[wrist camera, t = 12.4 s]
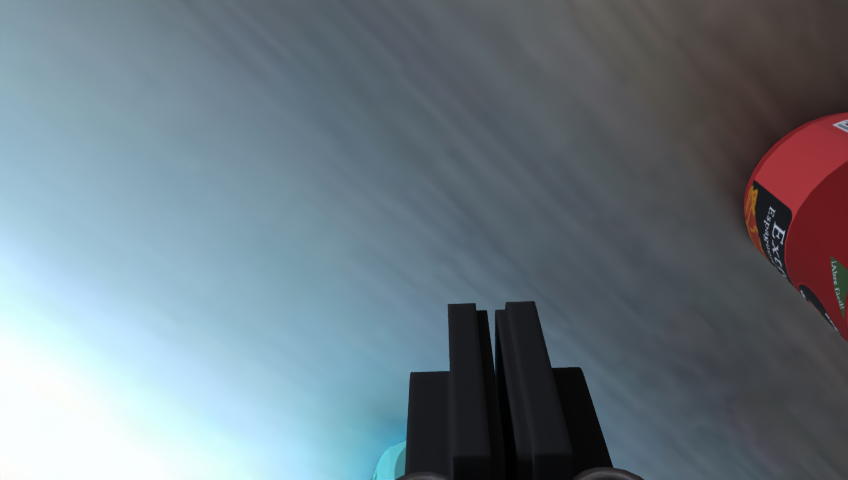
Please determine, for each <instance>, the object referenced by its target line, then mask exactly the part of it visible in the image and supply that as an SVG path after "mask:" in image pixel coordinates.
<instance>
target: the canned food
mask: <svg viewBox="0 0 848 480" xmlns="http://www.w3.org/2000/svg"><path fill="white" fill-rule="evenodd" d="M744 216H745V221H746V225H747V229H748V232H749V236H750V238H751V239H752V241H753V243H754V245H755V247H756V248H757V249H758V250H759V251H760V252H761V253H762V254H763V255H764V256H765V257H766V258H767V259H768V260H769V261H770V263H771V264H772V265H773V266H774V267H775V268H776V269H777V270H778V271H779V272H780V273H781V274H782V275H783V276H784V277H785V278H786V279H787V280H788V281H789V282H790V283H791V284H792V285H793V286H794V287H795V288H796V289H797V290H798V291H799V292H800V294H801V295H802V296H803V297H804V298H805V299H806V300H807V301H808V302H809V303H810V304H811V305H812V306H813V307H814V308H815V309H816V310H817V311H818V312H819V313H820V314H821V315H822V316H823V317H824V318H825V319H826V320H827V321H828V322H829V323H830V325H831V326H832V327H833V328H834V329H835V330H836V331H837V332H838V333H839V334H840V335H841V336H842V337H843V338H844V339H845V340H846V341H847V342H848V112H844V113H837V114H832V115H827V116H823V117H820V118H817V119H815V120H812V121H810V122H807V123H805V124H803V125H801V126H799V127H798V128H796V129H794V130H792V131H791V132H789V133H788V134H786V135H785V136H784V137H783V138H781V139H780V140H779V141H778V142H776V143H775V144H774V145H773V146H772V147H771V148H770V149H769V150H768V152H767V153H766V154H765V155H764V156H763V157H762V158H761V160H760V161H759V163H758V164H757V166H756V167H755V169H754V170H753V173H752V175H751V177H750V180H749V182H748V184H747V187H746V192H745V197H744Z"/></svg>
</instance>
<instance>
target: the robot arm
mask: <svg viewBox="0 0 848 480" xmlns="http://www.w3.org/2000/svg"><path fill="white" fill-rule="evenodd" d="M448 324H449V357H450V371H437V372H411V374H410V385H409V403H408V421H407V439H406V457H405V475H403V476H401V477H399V478H397V479H395V480H644V479H642V478H641V477H640V476H637V475H635V474H633V473H631V472H628V471H626V470H622V469H617V468H613V465H612V462H611V459H610V456H609V453H608V449H607V446H606V443H605V440H604V437H603V434H602V431H601V427H600V424H599V421H598V418H597V415H596V412H595V409H594V406H593V402H592V399H591V396H590V393H589V390H588V387H587V384H586V380H585V377H584V374H583V372H582V369H581V368H580V367H568V368H551V364H550V360H549V356H548V352H547V348H546V344H545V340H544V336H543V332H542V328H541V324H540V320H539V316H538V312H537V309H536V305H535V302H534V301H525V302H506V305H505V310H495V370H494V362H493V354H492V347H491V339H490V331H489V323H488V315H487V310H479V311H476V304H475V303H467V304H448Z"/></svg>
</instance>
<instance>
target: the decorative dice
mask: <svg viewBox="0 0 848 480" xmlns="http://www.w3.org/2000/svg"><path fill="white" fill-rule="evenodd" d="M405 457H406V440H405V441H402V442H400V443H398V444H396V445H394V446H392V447H391V448H389V449H387V450H386V451H385V452H384V453H383V455H382V457H381V459H380V461H379V463H378V465H377V468H376V470H375V473H374V476H373V479H372V480H395V479H397V478H399V477H401V476H403V475H405Z"/></svg>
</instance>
